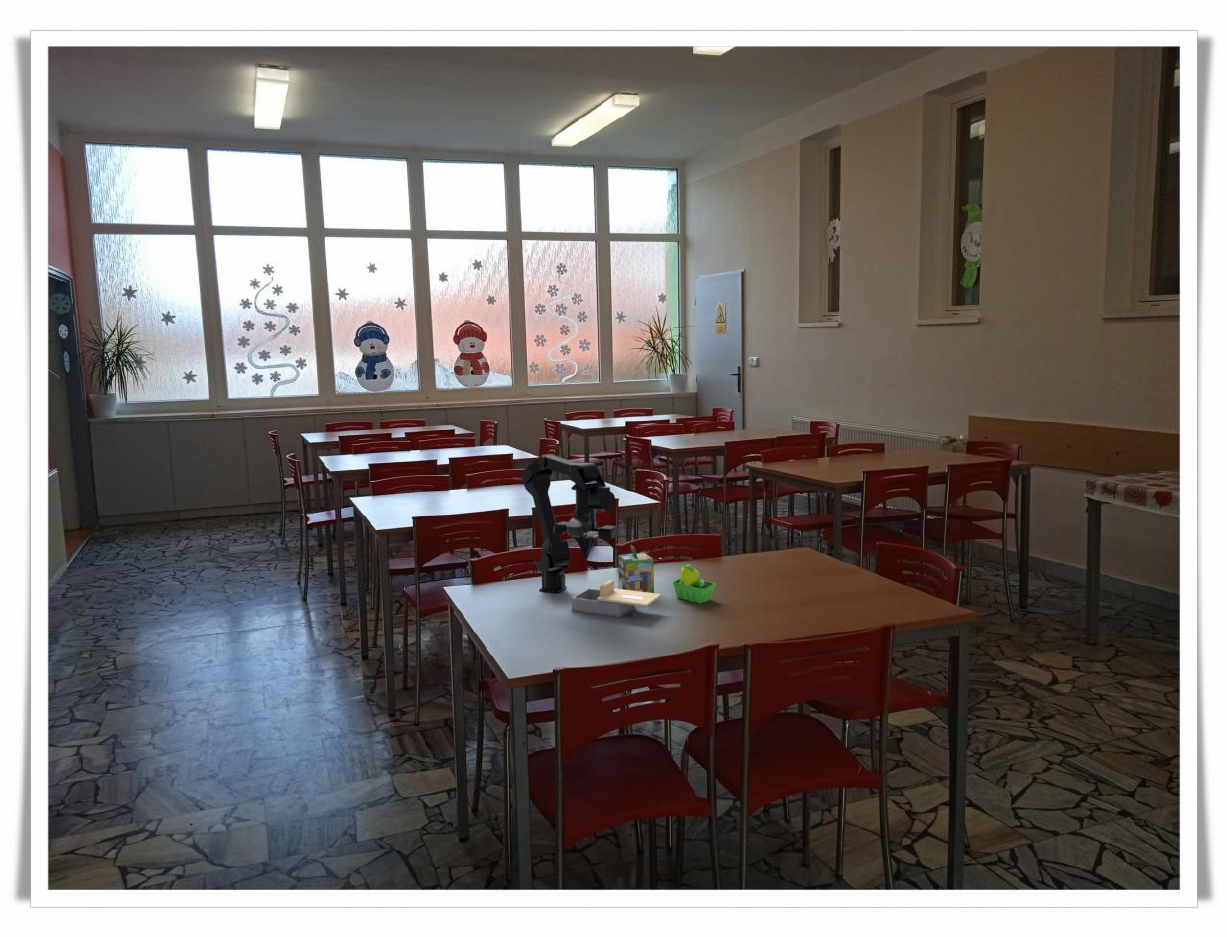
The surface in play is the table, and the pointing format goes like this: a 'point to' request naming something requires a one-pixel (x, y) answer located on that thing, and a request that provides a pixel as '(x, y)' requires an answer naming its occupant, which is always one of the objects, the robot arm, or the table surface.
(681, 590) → the fruit basket
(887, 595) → the table surface
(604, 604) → the grey shallow rectangular container
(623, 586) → the chalk box
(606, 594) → the lid
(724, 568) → the table surface
